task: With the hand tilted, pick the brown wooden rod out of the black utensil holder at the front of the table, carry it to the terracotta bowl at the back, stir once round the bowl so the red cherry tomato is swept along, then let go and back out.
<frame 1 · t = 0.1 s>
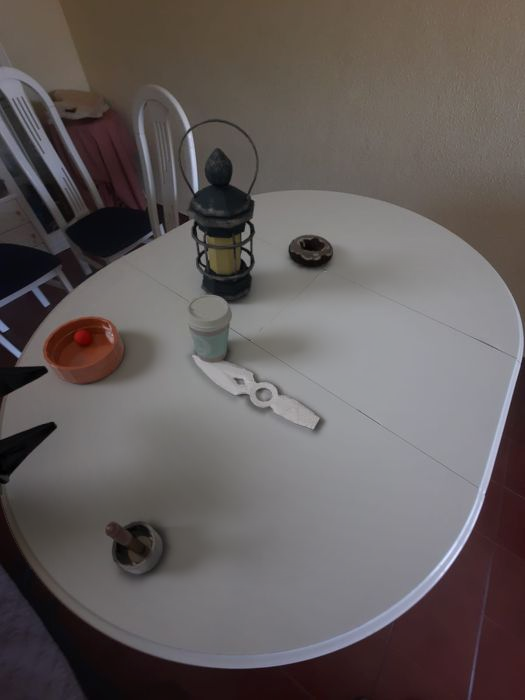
hand: (50, 395, 43), 17 cm above the table, tool horizontal, fingers open, 9 cm apart
donut: (309, 257, 91), on the table
utensil holder: (142, 550, 47), on the table
brown wooden rod: (141, 550, 46), resting on utensil holder
bowl: (90, 357, 68), on the table
knife: (249, 388, 64), on the table, touching coffee cup
coffee cup: (212, 353, 69), on the table, touching knife
lantern: (227, 289, 82), on the table
cherry tomato: (83, 337, 68), point 2 cm above the table, touching bowl
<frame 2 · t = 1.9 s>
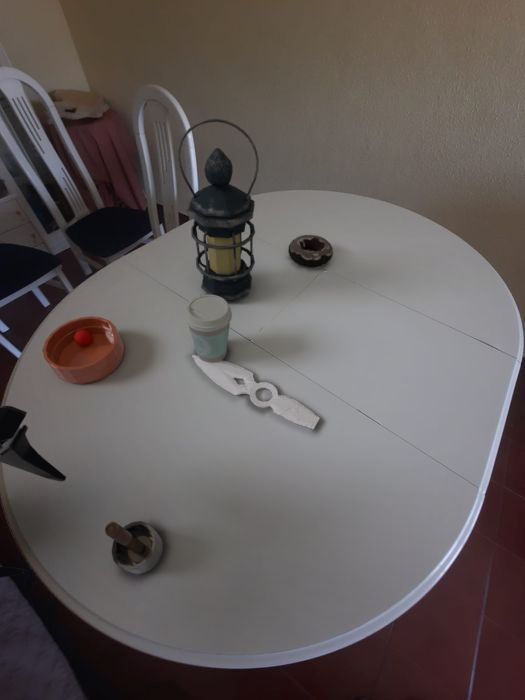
hand: (45, 522, 37), 13 cm above the table, tool tilted 45°, fingers open, 9 cm apart
nothing on the table moved.
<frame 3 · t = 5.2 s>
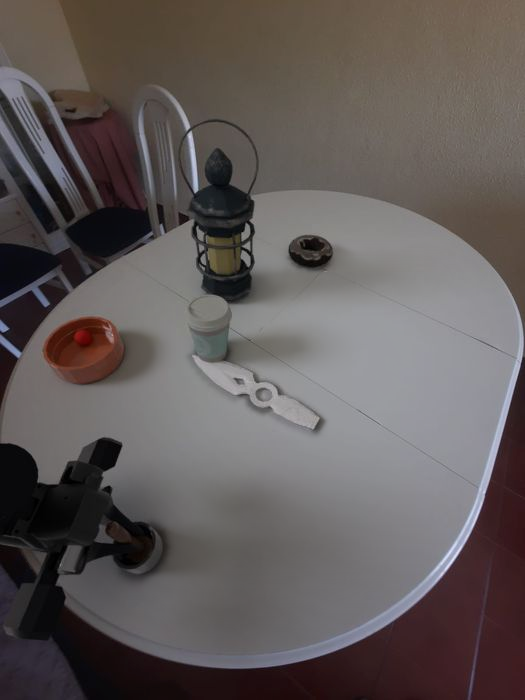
hand: (139, 541, 41), 7 cm above the table, tool tilted 45°, fingers closed on brown wooden rod
brown wooden rod: (141, 550, 46), point 1 cm above the table, touching gripper, utensil holder
everything else where it was.
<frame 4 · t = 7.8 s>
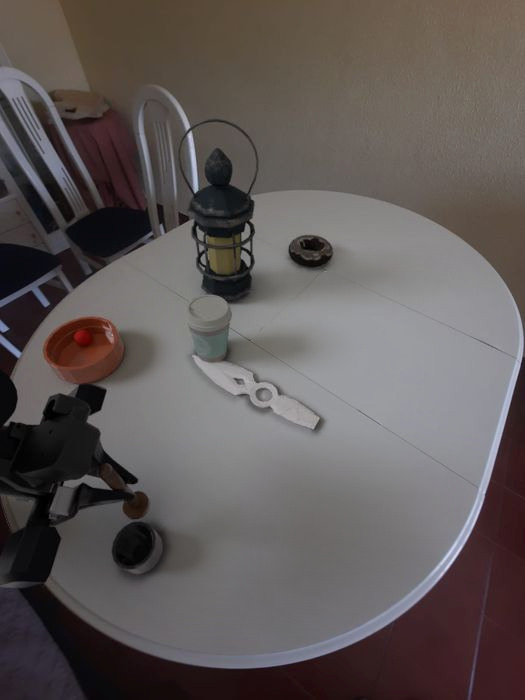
hand: (134, 489, 39), 14 cm above the table, tool tilted 45°, fingers closed on brown wooden rod
brown wooden rod: (137, 506, 44), point 7 cm above the table, touching gripper
everything else where it was.
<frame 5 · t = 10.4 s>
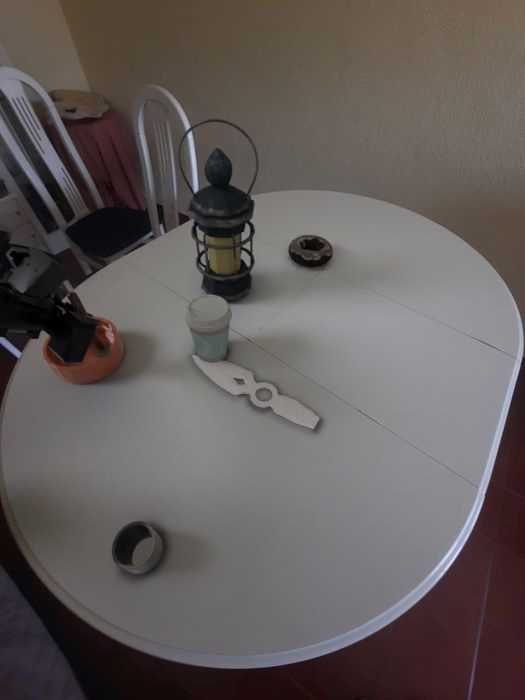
hand: (95, 320, 56), 14 cm above the table, tool tilted 45°, fingers closed on brown wooden rod
brown wooden rod: (101, 350, 60), point 7 cm above the table, touching gripper
everything else where it was.
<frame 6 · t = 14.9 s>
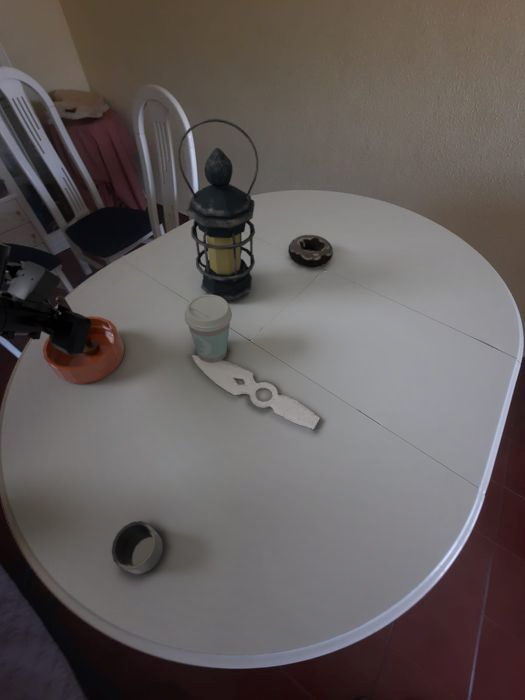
hand: (81, 320, 63), 8 cm above the table, tool tilted 45°, fingers closed on brown wooden rod
brown wooden rod: (91, 348, 68), point 1 cm above the table, touching cherry tomato, gripper
cherry tomato: (81, 336, 68), point 2 cm above the table, tilted 20°, touching bowl, brown wooden rod
everything else where it was.
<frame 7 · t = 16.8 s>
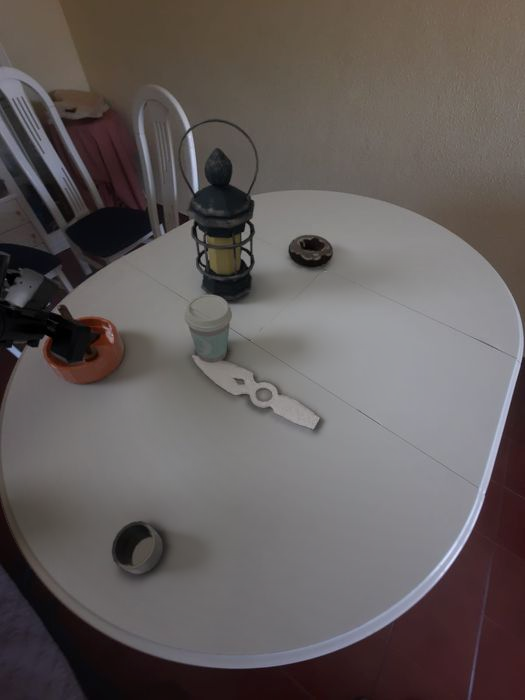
hand: (80, 327, 63), 8 cm above the table, tool tilted 45°, fingers open, 9 cm apart
brown wooden rod: (90, 355, 67), point 1 cm above the table, touching bowl
cherry tomato: (80, 339, 68), point 2 cm above the table, tilted 19°, touching bowl
everything else where it was.
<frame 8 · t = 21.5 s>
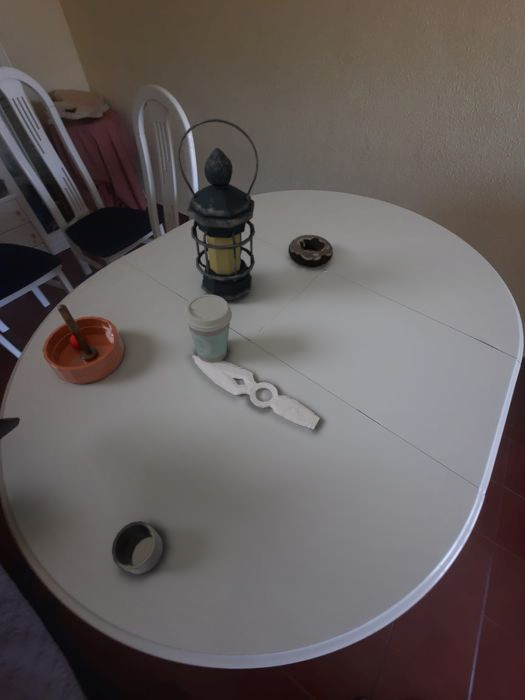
cherry tomato: (78, 340, 67), point 2 cm above the table, tilted 35°, touching bowl
everything else where it was.
at the end: brown wooden rod inside the target area in the bowl (0.1 cm from its centre), point 0.8 cm above the bowl's base; cherry tomato moved 1.0 cm from its start; cherry tomato inside the target area in the bowl (3.2 cm from its centre), point 2.4 cm above the bowl's base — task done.
